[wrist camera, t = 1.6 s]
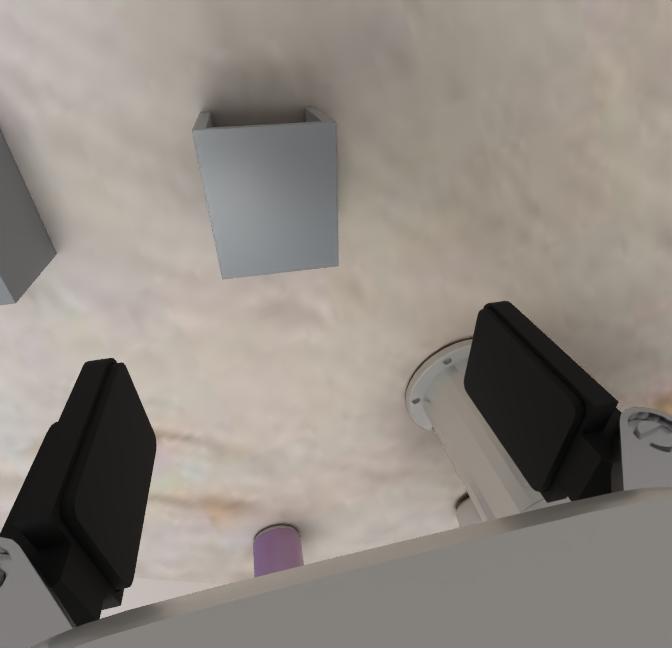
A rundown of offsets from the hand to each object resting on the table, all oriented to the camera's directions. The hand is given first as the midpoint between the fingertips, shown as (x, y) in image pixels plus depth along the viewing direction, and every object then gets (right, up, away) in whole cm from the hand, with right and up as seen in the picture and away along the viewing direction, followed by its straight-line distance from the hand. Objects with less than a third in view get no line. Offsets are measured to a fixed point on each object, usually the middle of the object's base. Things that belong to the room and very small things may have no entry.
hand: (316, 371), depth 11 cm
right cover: (-4, +11, +16) cm, 20 cm away
